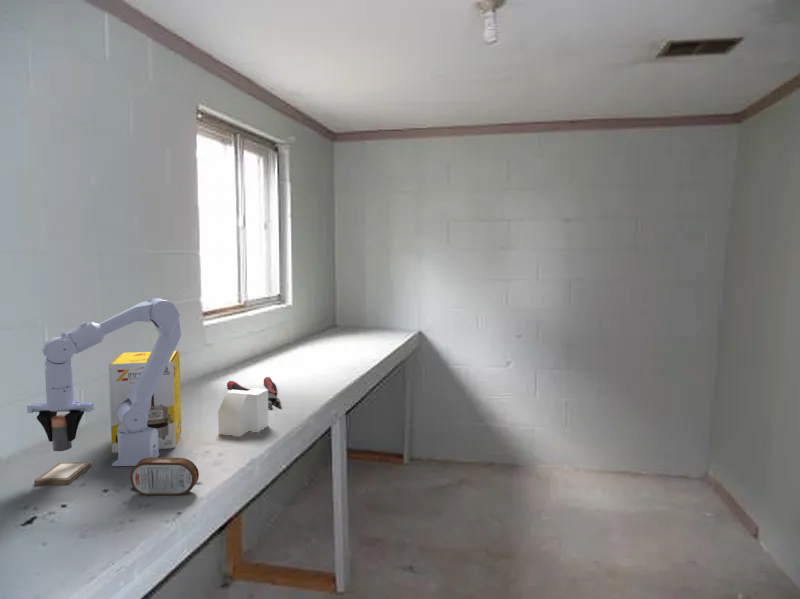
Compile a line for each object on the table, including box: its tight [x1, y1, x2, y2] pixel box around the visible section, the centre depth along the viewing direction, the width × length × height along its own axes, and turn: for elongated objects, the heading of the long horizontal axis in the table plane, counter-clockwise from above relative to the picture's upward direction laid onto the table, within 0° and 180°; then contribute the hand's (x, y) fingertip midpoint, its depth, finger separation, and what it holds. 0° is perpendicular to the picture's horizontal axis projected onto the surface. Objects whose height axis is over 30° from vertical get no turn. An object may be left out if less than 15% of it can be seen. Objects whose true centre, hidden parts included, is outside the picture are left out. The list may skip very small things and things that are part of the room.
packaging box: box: [108, 350, 182, 454], centre depth 161 cm, size 16×16×25 cm
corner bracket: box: [217, 387, 269, 437], centre depth 172 cm, size 11×11×12 cm
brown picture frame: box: [33, 461, 92, 486], centre depth 138 cm, size 8×11×1 cm
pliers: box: [226, 376, 282, 410], centre depth 212 cm, size 37×18×3 cm, turn 29°
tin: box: [129, 457, 200, 496], centre depth 128 cm, size 15×3×8 cm, turn 92°
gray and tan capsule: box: [51, 414, 73, 452], centre depth 137 cm, size 4×4×8 cm
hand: (62, 440), depth 137 cm, fingers closed on gray and tan capsule, 4 cm apart
